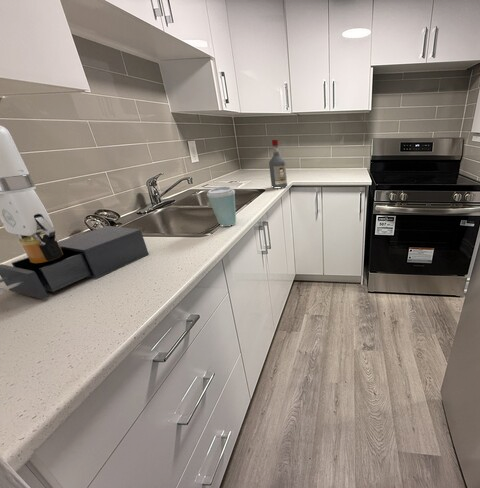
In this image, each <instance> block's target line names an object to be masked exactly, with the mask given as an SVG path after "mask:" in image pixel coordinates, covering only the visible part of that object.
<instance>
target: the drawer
mask: <svg viewBox="0 0 480 488" xmlns="http://www.w3.org/2000/svg"><path fill="white" fill-rule="evenodd" d="M61 250H62V252H63V256H61V257H59V258H57V259H54V260H51V261H47V262H43V263H31V262H30V260H29V258H28V257H27V256H26V257H24V258H21V259H18V260H15V261H12V262H11V265H7V264H0V284H1V283H4V284H5V286H4V287H0V296H1V295H3V294H4V293H5V292H6V291H10V292H13V293H18V294H22V295H25V296H28V297H32V298H37V299H39V300H45V299H46V298H49V295H48V293H47V291H48V292H57V291H58V290H60V289H62V288H65V287H67V286H69V285H72V284H74V283H76V282H78V281H80V280H82V279H83V280H84V279H85V278H88V277H87V276H89V275H92V274H93V273H92V270H91V268H90V266H89V264H88V261H87V259H86V257H85V255H84V252H78V251H72V250H66V249H61Z"/></svg>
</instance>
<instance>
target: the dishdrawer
mask: <svg viewBox="0 0 480 488" xmlns="http://www.w3.org/2000/svg"><path fill="white" fill-rule="evenodd" d="M144 238H145V237H144V236H143V233H142V230H141V229H138V228H131V227H121V226H114V225H113V226H112V225H106V226H102V227H100V228H97V229H93V230H91V231H87V232H83V233H81V234H78V235H75V236H72V237H68V238H64V239H62V240H57V242H58V244H59V246H60V248H61V249H66V250H72V251H78V252H84V255H85V257H86V259H87V261H88V264H89V266H90V268H91V270H92V273H93V274H92V275H89V276H87V277H86V278H91V279H95V280H97V279H100V278H102V277H104V276H107V275H108V274H111V273H112V272H115V271H117V270H119V269H121V268H123V267H125V266H127V265H131V264H132V263H134V262H137V261H138V260H141V259H142V258H145V257H146V256H148V255H150V253H149V250H148V247H147V245H146V241H145V239H144Z"/></svg>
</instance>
